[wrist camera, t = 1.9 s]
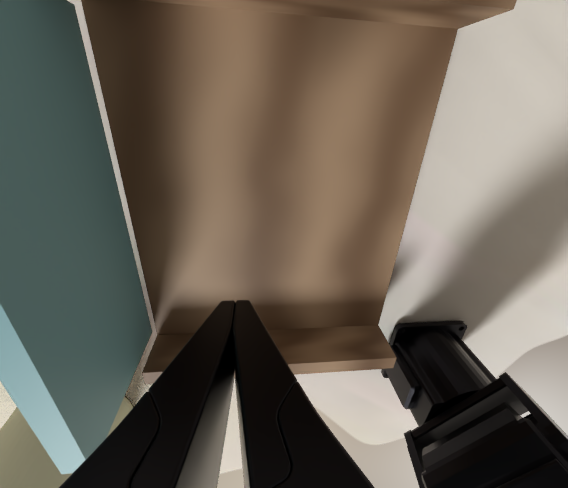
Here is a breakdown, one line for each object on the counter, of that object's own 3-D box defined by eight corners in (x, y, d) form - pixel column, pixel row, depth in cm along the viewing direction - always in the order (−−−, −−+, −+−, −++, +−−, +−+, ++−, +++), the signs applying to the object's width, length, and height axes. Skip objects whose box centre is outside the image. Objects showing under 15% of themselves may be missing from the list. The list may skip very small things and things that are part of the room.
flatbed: (438, 13, 14) (526, -29, 9) (365, 316, 23) (393, 368, 19) (98, -19, 12) (9, -90, 8) (167, 324, 21) (145, 383, 17)
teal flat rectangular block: (74, 4, 11) (-266, -183, 4) (152, 331, 19) (92, 471, 12) (29, 0, 11) (-419, -203, 4) (127, 332, 19) (51, 475, 11)
